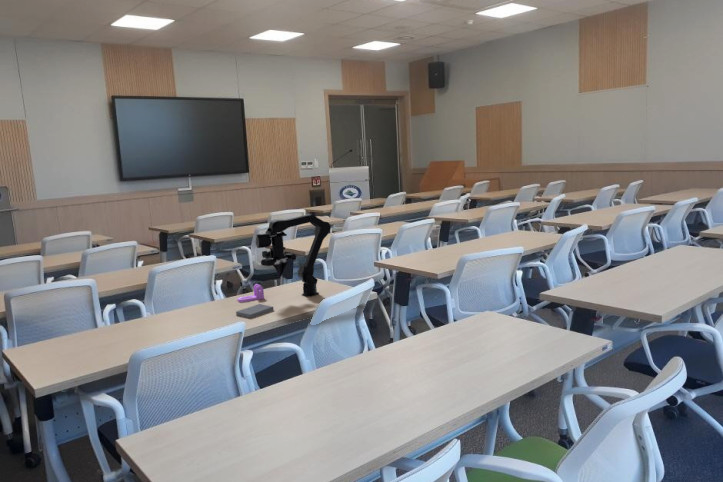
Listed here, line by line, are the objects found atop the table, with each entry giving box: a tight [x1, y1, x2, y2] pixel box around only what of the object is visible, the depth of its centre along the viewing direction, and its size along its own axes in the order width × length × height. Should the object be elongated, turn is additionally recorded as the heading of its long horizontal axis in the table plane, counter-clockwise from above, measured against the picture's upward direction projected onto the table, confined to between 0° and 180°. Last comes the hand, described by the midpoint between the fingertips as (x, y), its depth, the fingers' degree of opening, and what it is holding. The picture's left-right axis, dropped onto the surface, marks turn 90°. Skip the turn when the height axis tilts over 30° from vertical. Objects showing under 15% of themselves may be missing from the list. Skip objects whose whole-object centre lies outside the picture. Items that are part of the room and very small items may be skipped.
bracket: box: [236, 283, 265, 303], centre depth 288 cm, size 13×6×7 cm, turn 114°
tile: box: [235, 303, 274, 319], centre depth 264 cm, size 2×10×14 cm
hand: (280, 276), depth 282 cm, fingers closed
